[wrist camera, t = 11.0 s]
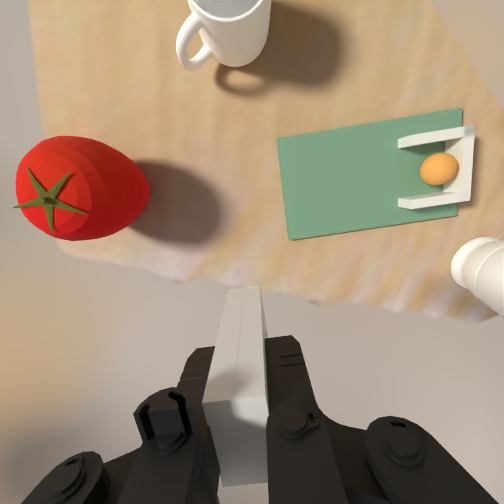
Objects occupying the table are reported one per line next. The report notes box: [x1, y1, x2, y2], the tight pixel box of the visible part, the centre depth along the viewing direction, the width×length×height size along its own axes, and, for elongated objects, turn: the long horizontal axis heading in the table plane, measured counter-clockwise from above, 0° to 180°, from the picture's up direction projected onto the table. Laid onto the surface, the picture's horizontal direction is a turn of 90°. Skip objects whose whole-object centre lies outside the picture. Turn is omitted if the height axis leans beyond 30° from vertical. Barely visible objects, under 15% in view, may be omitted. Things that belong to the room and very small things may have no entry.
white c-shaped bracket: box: [398, 125, 475, 209], centre depth 34 cm, size 9×7×3 cm
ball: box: [420, 153, 458, 185], centre depth 33 cm, size 4×4×4 cm
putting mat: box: [277, 108, 462, 240], centre depth 36 cm, size 14×24×1 cm, turn 99°
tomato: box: [14, 136, 151, 241], centre depth 30 cm, size 13×11×14 cm
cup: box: [176, 0, 271, 71], centre depth 27 cm, size 8×12×10 cm
